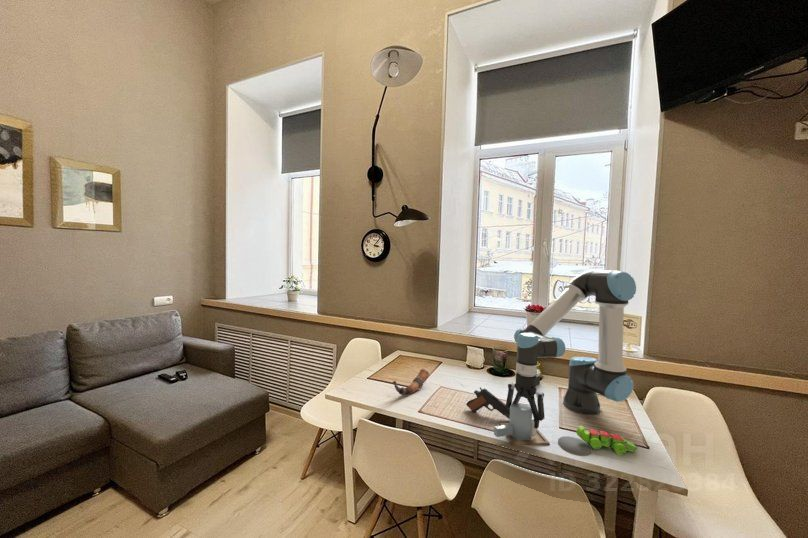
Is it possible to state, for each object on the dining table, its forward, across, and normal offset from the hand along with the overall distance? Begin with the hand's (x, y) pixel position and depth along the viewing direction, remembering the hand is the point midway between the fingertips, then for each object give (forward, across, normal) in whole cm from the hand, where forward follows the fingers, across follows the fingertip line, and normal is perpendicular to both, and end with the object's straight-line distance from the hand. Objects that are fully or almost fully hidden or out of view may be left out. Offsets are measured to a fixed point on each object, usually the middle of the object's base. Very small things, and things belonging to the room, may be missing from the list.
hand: (523, 431), depth 124 cm
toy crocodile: (+2, +24, +15) cm, 28 cm away
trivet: (+2, +16, +7) cm, 18 cm away
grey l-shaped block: (+1, 0, -3) cm, 3 cm away
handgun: (+4, -19, +2) cm, 20 cm away
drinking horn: (+2, -56, -7) cm, 56 cm away
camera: (+2, -21, +49) cm, 53 cm away
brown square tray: (+2, 0, 0) cm, 2 cm away
